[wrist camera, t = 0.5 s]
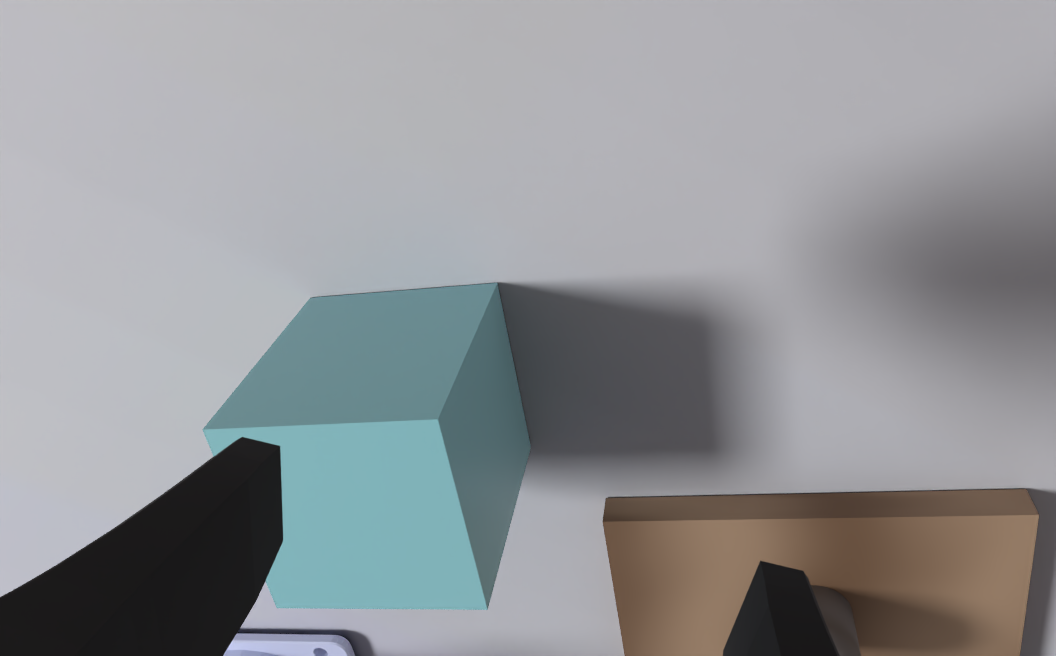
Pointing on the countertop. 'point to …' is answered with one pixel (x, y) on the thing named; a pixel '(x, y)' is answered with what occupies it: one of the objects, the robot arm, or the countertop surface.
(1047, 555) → the countertop surface
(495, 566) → the teal matte cube
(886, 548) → the brown rectangular board
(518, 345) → the countertop surface
